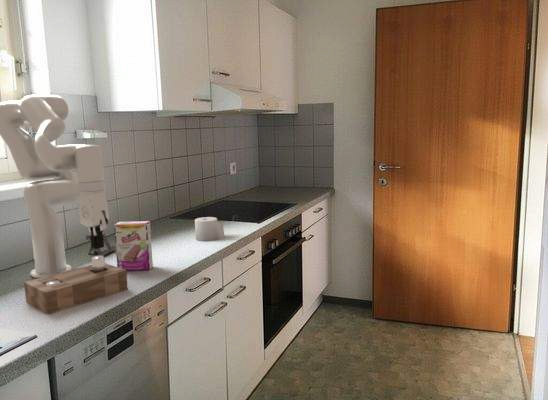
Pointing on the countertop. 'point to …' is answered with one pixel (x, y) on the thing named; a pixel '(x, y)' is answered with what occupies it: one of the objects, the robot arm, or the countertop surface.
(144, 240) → the candy bar box
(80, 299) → the walnut block
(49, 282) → the front peg
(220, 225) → the toilet tissue
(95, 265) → the back peg
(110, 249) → the portable electronic device stand
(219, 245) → the countertop surface
